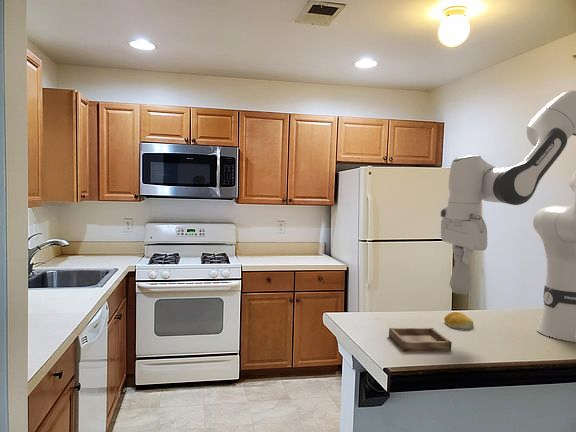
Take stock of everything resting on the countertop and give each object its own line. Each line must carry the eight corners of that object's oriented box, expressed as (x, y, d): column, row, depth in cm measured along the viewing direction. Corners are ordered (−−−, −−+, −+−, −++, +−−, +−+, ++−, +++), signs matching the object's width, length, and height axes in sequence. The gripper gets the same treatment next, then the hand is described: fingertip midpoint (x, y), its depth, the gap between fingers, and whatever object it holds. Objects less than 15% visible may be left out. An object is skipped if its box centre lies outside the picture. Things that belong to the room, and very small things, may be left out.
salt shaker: (472, 295, 126) (474, 249, 125) (450, 294, 127) (452, 248, 126) (468, 290, 132) (471, 246, 131) (448, 289, 133) (450, 245, 132)
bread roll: (452, 330, 139) (453, 317, 139) (441, 321, 148) (441, 309, 148) (478, 330, 140) (479, 318, 140) (465, 322, 149) (466, 309, 149)
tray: (432, 336, 133) (432, 327, 133) (451, 351, 121) (451, 342, 121) (388, 336, 131) (389, 328, 131) (403, 351, 119) (404, 342, 119)
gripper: (495, 216, 118) (492, 268, 119) (457, 211, 138) (455, 256, 139) (472, 215, 117) (469, 268, 118) (437, 210, 138) (435, 256, 139)
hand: (461, 261), depth 129 cm, fingers closed on salt shaker, 3 cm apart
